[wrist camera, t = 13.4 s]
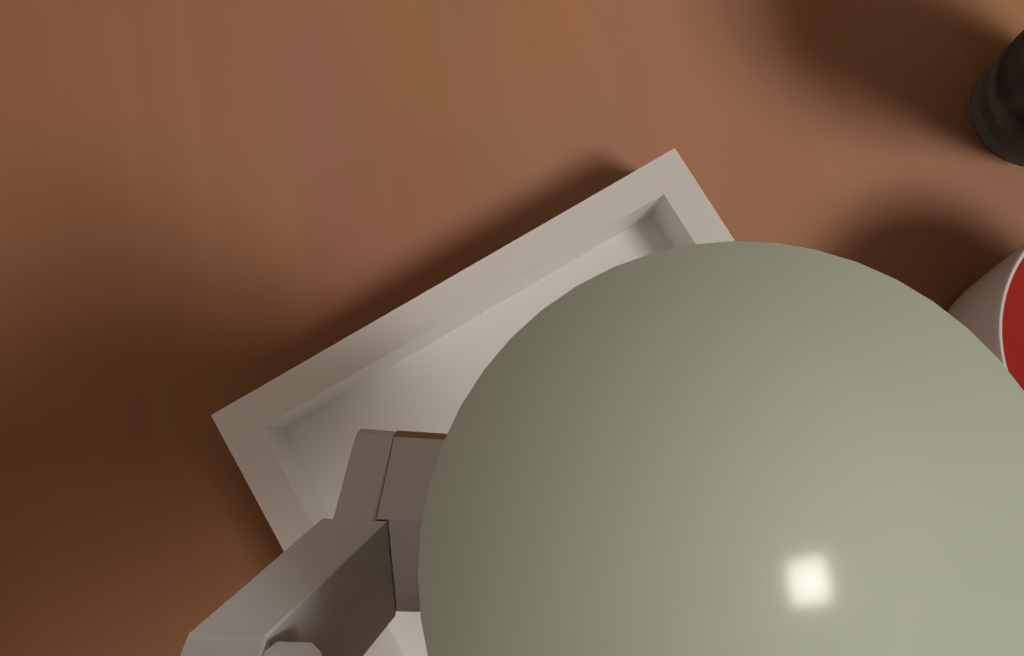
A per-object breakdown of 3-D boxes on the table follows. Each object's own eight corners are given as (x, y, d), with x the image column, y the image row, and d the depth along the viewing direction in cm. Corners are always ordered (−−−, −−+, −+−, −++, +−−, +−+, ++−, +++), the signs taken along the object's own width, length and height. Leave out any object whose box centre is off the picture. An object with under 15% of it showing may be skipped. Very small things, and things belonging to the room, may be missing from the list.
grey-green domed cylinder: (562, 658, 18) (650, 1083, 6) (441, 452, 18) (297, 452, 6) (761, 532, 18) (1231, 688, 6) (635, 334, 19) (840, 127, 7)
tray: (461, 820, 29) (455, 870, 26) (244, 419, 31) (210, 415, 28) (892, 547, 30) (941, 559, 27) (657, 180, 32) (674, 148, 29)
